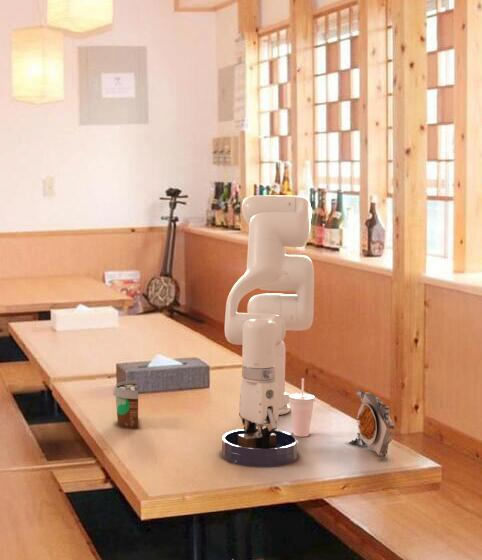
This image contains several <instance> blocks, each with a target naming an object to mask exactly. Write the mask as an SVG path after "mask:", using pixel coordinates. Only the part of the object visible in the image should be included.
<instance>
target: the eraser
mask: <svg viewBox="0 0 482 560" xmlns="http://www.w3.org/2000/svg"><path fill="white" fill-rule="evenodd" d="M257 437H258V432H253V433H246V434H240V435H238V446H241V447H247V448H256V442H257ZM269 448H276V434H274V433H271V437H269Z"/></svg>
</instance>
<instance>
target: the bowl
mask: <svg viewBox="0 0 482 560" xmlns="http://www.w3.org/2000/svg"><path fill="white" fill-rule="evenodd" d="M262 429H263V430H264V428H262ZM255 431H258V428H256V430H255ZM272 433H274V434H276V448H269V449H259V448H247V447H241V446H238V435H240V434H245V431H244V428H242V429H235V430H231V431H229V432H226V433H224V434H223V435H222V437H221V453H222V457H223V458H224V460H226V461H228V462H230V463H233V464H237V465H241V466H248V467H257V468H259V467H260V468H263V467H264V468H265V467H266V468H267V467H269V468H270V467H280V466H284V465H285V466H286V465H288V464H291V463H293V462H295V461H296V460H297V459H298V446H299V445H298V443H299V442H298V441H299V440H298V437H297V436H295V435H294V434H292V433H289V432H286V431H282V430H279V429H275V430H274V431H273V432H272Z"/></svg>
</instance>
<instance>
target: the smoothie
mask: <svg viewBox="0 0 482 560" xmlns="http://www.w3.org/2000/svg"><path fill="white" fill-rule="evenodd" d="M289 401H290V402H289V404H290V412H291V423H292V432H293V435H294V436H295V437H299V438H300V437H301V438H303V437H309V434H310V428H311V421H312V416H313V415H312V414H313V408H314V403H315V402H316V397H315V395H313V394H310V393H305V378H303V377H302V378H301V393H292V395H291V394H290V396H289Z"/></svg>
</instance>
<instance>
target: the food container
mask: <svg viewBox="0 0 482 560" xmlns="http://www.w3.org/2000/svg"><path fill="white" fill-rule="evenodd" d="M137 384H138V382H137V380H125V381H121V382H117V383H115V386H114V387H113V392H112V394H113V396H115V403H116V418H117V425H118V426H119V427H121V428H125V429H133V430H134V429H139V390H138V387H137Z"/></svg>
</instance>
